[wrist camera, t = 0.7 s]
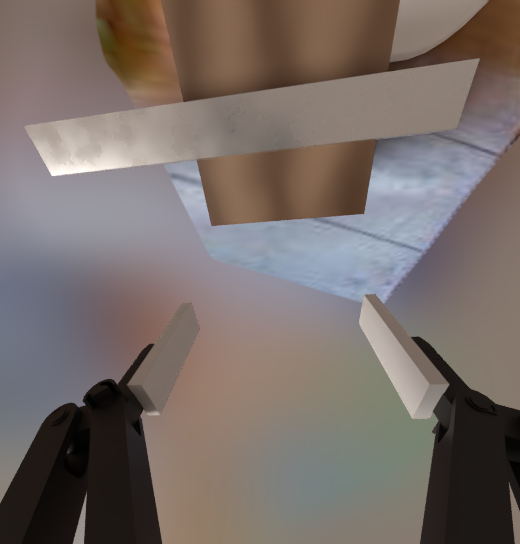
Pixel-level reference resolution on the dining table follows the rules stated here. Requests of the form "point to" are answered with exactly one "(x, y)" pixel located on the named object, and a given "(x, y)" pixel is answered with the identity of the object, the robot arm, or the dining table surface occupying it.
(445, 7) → the plate
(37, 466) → the robot arm
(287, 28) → the walnut stand
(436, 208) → the dining table surface
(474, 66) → the metal bar
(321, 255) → the dining table surface
